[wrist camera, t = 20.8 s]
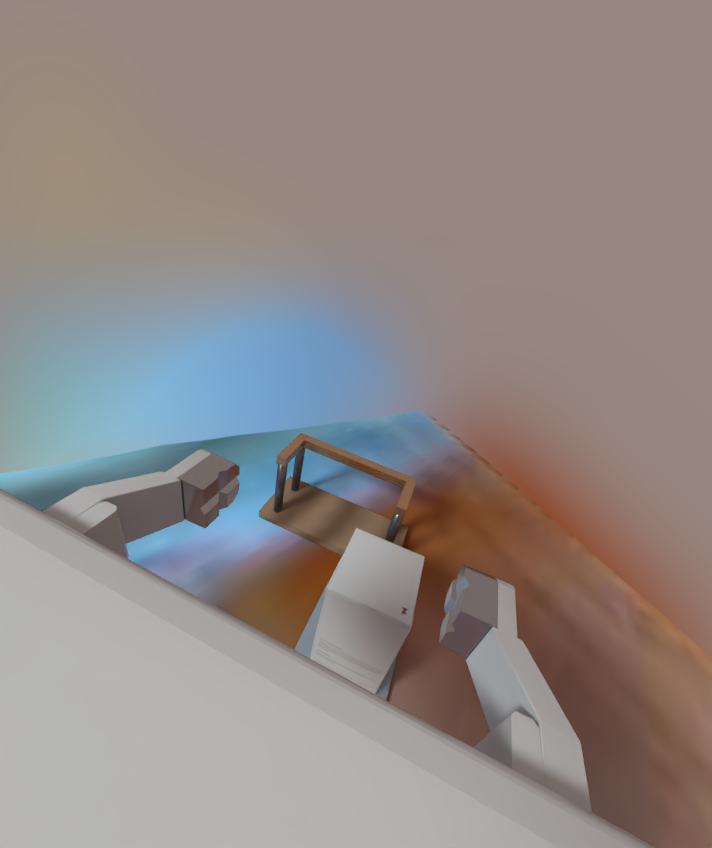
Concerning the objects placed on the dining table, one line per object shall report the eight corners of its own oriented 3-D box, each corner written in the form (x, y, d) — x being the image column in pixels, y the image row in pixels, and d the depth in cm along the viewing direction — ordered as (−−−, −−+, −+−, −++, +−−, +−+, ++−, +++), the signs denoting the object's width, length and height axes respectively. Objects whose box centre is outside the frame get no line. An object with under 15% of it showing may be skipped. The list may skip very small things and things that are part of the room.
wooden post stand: (271, 510, 48) (277, 455, 43) (293, 484, 53) (300, 433, 48) (385, 562, 45) (406, 510, 40) (396, 530, 50) (417, 479, 45)
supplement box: (393, 625, 39) (428, 556, 32) (374, 698, 32) (413, 630, 26) (334, 597, 40) (356, 524, 33) (305, 661, 34) (325, 588, 27)
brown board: (258, 516, 48) (259, 510, 48) (289, 481, 55) (290, 476, 55) (391, 578, 44) (393, 573, 44) (405, 532, 51) (408, 527, 51)
